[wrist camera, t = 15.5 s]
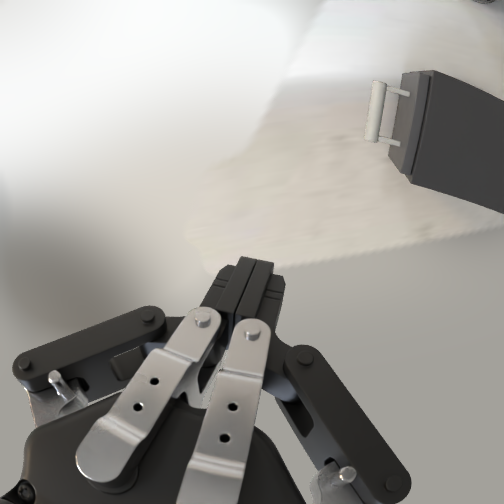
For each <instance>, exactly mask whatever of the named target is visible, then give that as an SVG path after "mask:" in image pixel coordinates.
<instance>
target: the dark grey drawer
mask: <svg viewBox="0 0 504 504" xmlns="http://www.w3.org/2000/svg"><path fill="white" fill-rule="evenodd" d="M429 79H430V75H427V74H424V73H421V72H415V73H404V74H402V81H401V88H400V89H398V88H394V87H391V86H387V84H386V83H383V82H379V81H374V80H373V83H372V91H371V98H370V104H369V111H368V117H367V123H366V129H365V134H364V139H365V140H367V141H370V142H374V143H377V141H380V142H384V143H388V144H390V149H389V154H388V156H389V157H390V159H391V160H392V161H393V163H394V164H395V166H396V167H397V169H398V170H399V171H400V173H402V174H406V175H410V174H411V170H412V166H413V163H414V161H415V157H416V153H417V149H418V144H419V140H420V135H421V130H422V125H423V120H424V115H425V109H426V104H427V98H428V91H429ZM386 91H389V92H393V93H397V94H400V95H399V101H398V107H397V113H396V119H395V124H394V129H393V135H392V139H391V138H387V137H383V136H379V131H380V125H381V120H382V114H383V108H384V101H385V95H386Z"/></svg>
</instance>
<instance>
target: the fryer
mask: <svg viewBox="0 0 504 504" xmlns="http://www.w3.org/2000/svg"><path fill="white" fill-rule="evenodd" d="M418 72H421V73H424V74H427V75H430V79H429V91H428V98H427V104H426V109H425V115H424V120H423V125H422V130H421V135H420V140H419V144H418V149H417V153H416V157H415V161H414V163H413V166H412V170H411V174H410V175H406V174H405V176H406V177H407V178H408V180H409V181H410V183H411V184H414V185H418V186H421V187H425V188H428V189H432V190H435V191H438V192H442V193H445V194H448V195H451V196H454V197H457V198H460V199H463V200H466V201H469V202H472V203H475V204H478V205H481V206H484V207H486V208H489V209H492V210H495V211H497V212H500V213H502V214H504V101H502V100H500V99H498V98H496V97H494V96H493V95H491V94H489V93H486V92H484V91H482V90H480V89H478V88H476V87H474V86H472V85H469V84H467V83H465V82H462V81H460V80H458V79H455V78H453V77H450V76H448V75H445V74H443V73H440V72H437V71H435V70H432V71H418ZM410 73H415V72H410Z"/></svg>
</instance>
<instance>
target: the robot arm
mask: <svg viewBox="0 0 504 504" xmlns="http://www.w3.org/2000/svg"><path fill="white" fill-rule="evenodd" d="M474 1H476V2H479V3H491V2H493V1H495V0H474ZM273 269H274V263H273V262H268V261H263V260H257V259H253V258H248V257H243V256H241V257H240V259H239V261H238V263H237V265H236V266H232V265H227V266H225V267H224V268H222V269H221V270H220V271H219V273H218V275H217V276H216V279H215V280H214V282H213V284H212V286H211V287H210V289H209V291H208V292H207V294H206V296H205V298H204V299H203V301H202V303H201V305H200V307H198V308H194V309H192V310H191V311H189V312H188V313H187V315H186V316H183V317H165V314H164V312H163V311H162V310H161V309H160V308H158V307H156V306H144V307H141V308H138V309H136V310H133V311H131V312H129V313H126V314H123V315H120V316H118V317H115V318H113V319H110V320H107V321H105V322H102V323H100V324H97V325H95V326H92V327H89V328H87V329H84V330H81V331H79V332H76V333H74V334H71V335H68V336H66V337H63V338H61V339H58V340H56V341H53V342H50V343H47V344H45V345H42V346H39V347H37V348H34V349H31V350H29V351H26V352H24V353H22V354H20V355H19V356H18V357H17V358H16V359H15V361H14V363H13V367H12V370H13V374H14V376H15V377H16V378H17V379H18V381H19V382H20V383H21V384H22V385H23V387H24V389H25V390H26V391H27V393H28V398H29V403H30V407H31V411H32V415H33V419H34V423H35V427H36V429H34V431H32V432H31V434H30V435H29V436H28V438H27V440H26V443H25V447H24V462H23V470H22V474H21V478H20V480H19V482H18V483H17V485H16V486H15V487H14V488H13V489H11V490H10V491H9V492H8V493H6V494H5V495H3V496H2V497H0V504H306V502H305V500H304V499H303V497H302V495H301V493H300V491H299V490H298V488H297V486H296V484H295V482H294V480H293V478H292V477H291V475H290V473H289V471H288V469H287V467H286V465H285V463H284V461H283V459H282V458H281V455H280V454H279V452H278V450H277V448H276V446H275V445H274V443H273V442H272V440H271V439H270V438H269V437H268V436H267V435H266V434H265V433H264V432H263V431H261V430H260V429H258V428H257V427H255V426H254V424H255V419H256V414H257V409H258V404H259V399H260V393H261V389H263V390H265V391H267V392H268V393H270V394H272V395H273V396H275V399H276V402H277V404H278V405H279V407H280V409H281V410H282V412H283V414H284V416H285V417H286V419H287V421H288V422H289V424H290V426H291V427H292V429H293V431H294V433H295V434H296V436H297V438H298V439H299V441H300V443H301V444H302V446H303V447H304V449H305V451H306V452H307V454H308V455H309V457H310V459H311V460H312V462H313V464H314V465H315V467H316V469H317V470H318V472H317V473H316V474H315V475H314V476H313V478H312V479H311V482H310V491H311V494H312V496H313V504H396V503H398V502H400V501H402V500H403V499H404V498H405V497H406V496H407V495H408V493H409V491H410V489H411V477H410V474H409V473H408V471H407V470H406V469H405V467H404V466H403V465H402V463H401V462H400V461H399V459H398V458H397V457H396V455H395V454H394V452H393V451H392V450H391V448H390V447H389V446H388V444H387V443H386V442H385V440H384V439H383V437H382V436H381V435H380V433H379V432H378V431H377V429H376V428H375V427H374V425H373V424H372V423H371V421H370V420H369V418H368V417H367V416H366V414H365V413H364V412H363V410H362V409H361V408H360V406H359V405H358V403H357V402H356V401H355V399H354V398H353V397H352V395H351V394H350V393H349V391H348V390H347V389H346V387H345V386H344V384H343V383H342V382H341V380H340V379H339V377H338V376H337V375H336V373H335V372H334V371H333V369H332V368H331V367H330V365H329V364H328V362H327V361H326V360H325V358H324V357H323V356H322V354H321V353H320V352H319V351H318V350H317V349H315V348H314V347H312V346H309V345H297V346H294V347H290V346H289V345H287V344H285V343H283V342H282V341H281V340H280V339H279V338H278V337H277V335H276V333H275V329H276V326H277V322H278V318H279V314H280V310H281V306H282V301H283V295H284V290H285V281H284V278H283V276H280V275H275V274H273ZM136 347H137V348H136ZM134 348H135V349H134ZM131 349H133V350H131ZM129 350H130V351H129ZM225 350H228V351H227V354H226V358H225V361H224V365H223V368H222V370H221V369H220V370H219V372H218V374H217V377H216V381H215V384H214V388H213V390H212V394H211V397H210V400H209V404H208V407H207V409H201V405H202V401H203V398H204V396H205V394H206V392H207V390H208V388H209V386H210V384H211V382H212V381H213V379H214V377H215V375H216V373H217V371H218V369H219V367H220V365H221V359H222V357H223V354H224V352H225ZM127 351H128V352H127ZM124 352H125V353H124ZM122 353H123V354H122ZM119 354H120V355H119ZM117 355H118V356H117ZM114 356H116V357H114ZM123 388H125V389H124V390H123V392H119V393H117V394H114V395H112V396H110V397H108V398H106V399H103V400H101V401H99V402H96V403H94V404H92V405H90V406H88V403H89V402H91V401H94V400H97V399H99V398H102V397H104V396H107V395H109V394H112V393H114V392H116V391H119V390H121V389H123Z"/></svg>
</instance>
